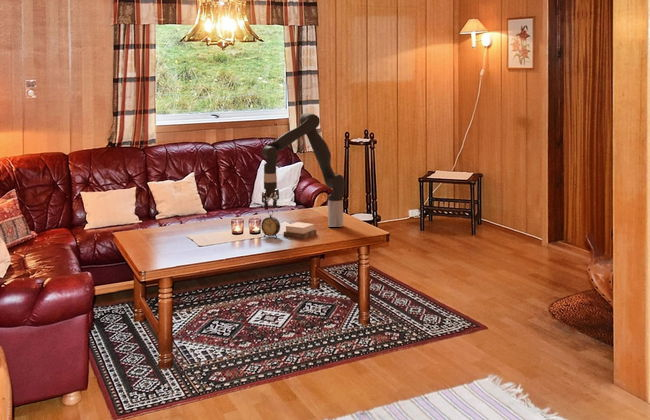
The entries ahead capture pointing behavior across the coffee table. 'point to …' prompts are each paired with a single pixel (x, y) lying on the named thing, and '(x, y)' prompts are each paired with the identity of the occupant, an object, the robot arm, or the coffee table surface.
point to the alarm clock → (270, 226)
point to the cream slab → (300, 227)
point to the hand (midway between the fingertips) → (270, 208)
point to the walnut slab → (299, 234)
